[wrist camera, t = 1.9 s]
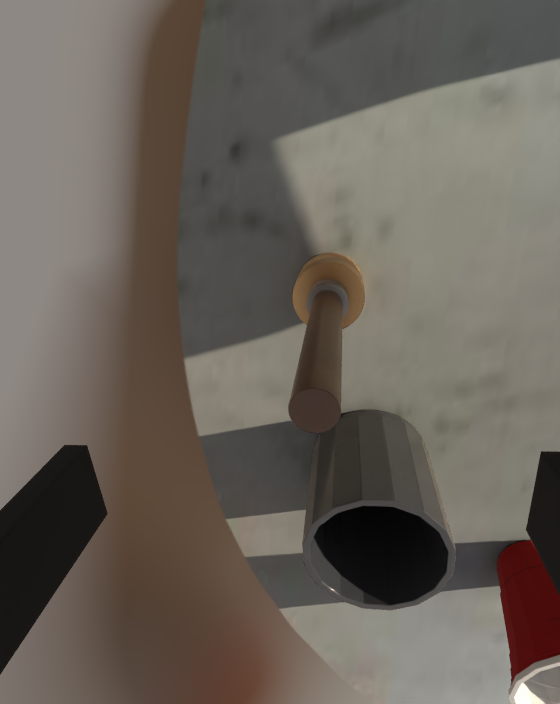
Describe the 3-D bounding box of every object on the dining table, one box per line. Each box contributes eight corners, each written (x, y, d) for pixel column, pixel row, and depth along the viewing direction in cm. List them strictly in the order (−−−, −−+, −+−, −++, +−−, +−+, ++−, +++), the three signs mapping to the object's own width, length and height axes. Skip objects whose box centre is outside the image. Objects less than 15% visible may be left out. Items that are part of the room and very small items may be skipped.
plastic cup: (469, 602, 45) (509, 745, 34) (467, 522, 40) (512, 655, 30) (586, 602, 42) (670, 755, 32) (597, 518, 38) (697, 659, 27)
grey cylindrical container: (429, 409, 36) (462, 503, 26) (423, 502, 40) (449, 614, 30) (310, 409, 38) (298, 497, 28) (315, 498, 42) (306, 604, 32)
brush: (362, 250, 32) (382, 349, 15) (362, 315, 34) (380, 466, 17) (295, 254, 33) (243, 352, 16) (299, 317, 35) (256, 463, 18)
